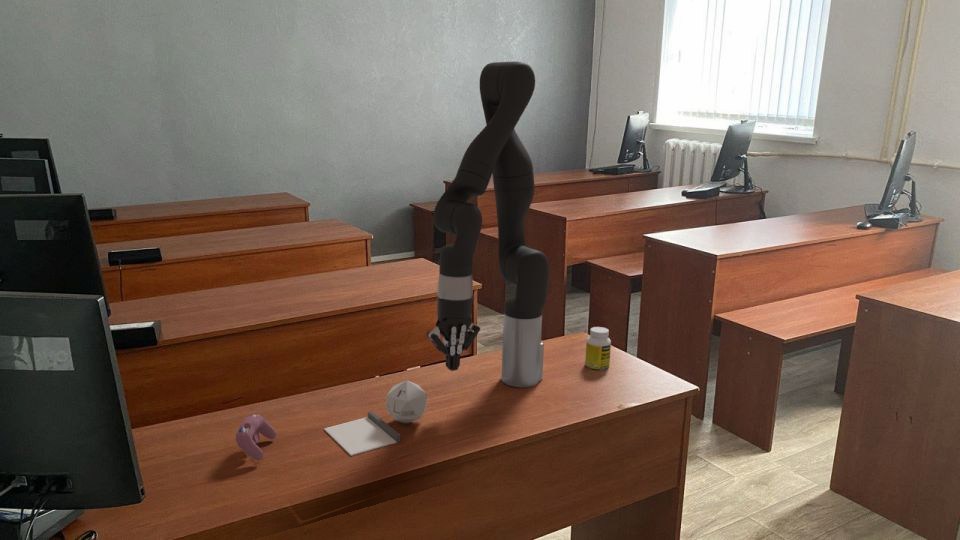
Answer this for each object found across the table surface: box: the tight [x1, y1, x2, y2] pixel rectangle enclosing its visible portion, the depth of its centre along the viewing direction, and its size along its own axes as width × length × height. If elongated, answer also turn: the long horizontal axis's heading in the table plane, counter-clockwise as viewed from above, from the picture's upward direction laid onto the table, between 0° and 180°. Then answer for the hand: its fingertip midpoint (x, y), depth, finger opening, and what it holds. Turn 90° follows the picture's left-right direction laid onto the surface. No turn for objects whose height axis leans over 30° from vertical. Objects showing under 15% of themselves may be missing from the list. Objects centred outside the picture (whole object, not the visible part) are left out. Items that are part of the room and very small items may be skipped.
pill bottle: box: [584, 326, 612, 371], centre depth 184 cm, size 6×6×11 cm
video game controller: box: [235, 413, 277, 461], centre depth 141 cm, size 10×5×7 cm, turn 178°
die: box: [385, 379, 428, 424], centre depth 153 cm, size 8×9×10 cm
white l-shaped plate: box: [323, 410, 401, 457], centre depth 148 cm, size 11×13×2 cm
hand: (452, 369), depth 159 cm, fingers closed
